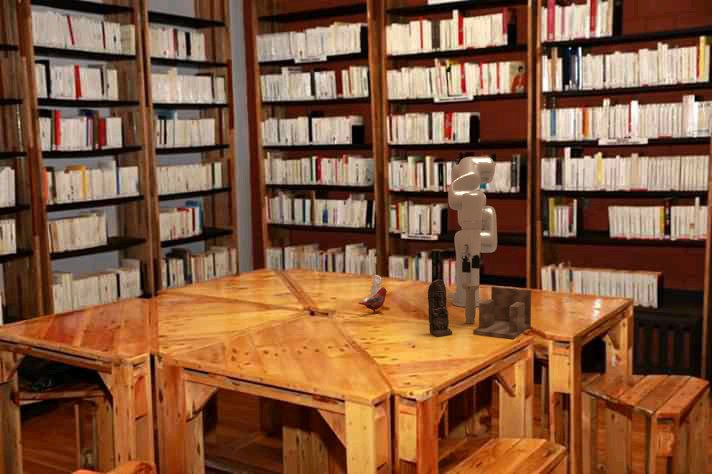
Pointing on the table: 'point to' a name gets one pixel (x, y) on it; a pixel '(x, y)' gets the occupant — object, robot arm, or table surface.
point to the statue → (438, 309)
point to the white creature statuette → (374, 286)
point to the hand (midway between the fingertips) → (471, 270)
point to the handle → (470, 301)
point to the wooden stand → (505, 313)
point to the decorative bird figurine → (375, 300)
